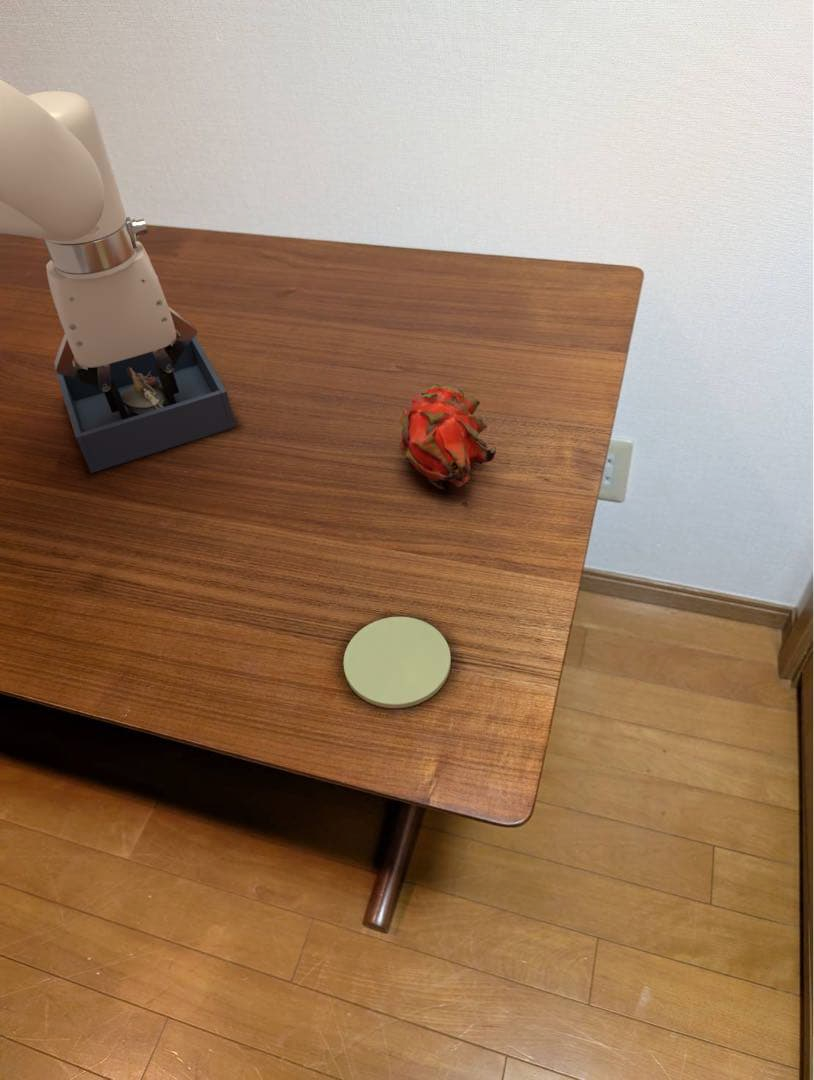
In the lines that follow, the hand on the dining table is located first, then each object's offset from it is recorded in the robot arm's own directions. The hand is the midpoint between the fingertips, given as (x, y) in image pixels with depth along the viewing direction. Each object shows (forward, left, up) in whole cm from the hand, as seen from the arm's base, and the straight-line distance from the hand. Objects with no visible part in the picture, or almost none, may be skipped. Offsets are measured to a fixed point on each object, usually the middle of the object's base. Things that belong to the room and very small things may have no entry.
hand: (146, 405), depth 89 cm
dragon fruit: (+24, -23, -2) cm, 33 cm away
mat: (+10, -42, -1) cm, 43 cm away
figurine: (0, 0, -1) cm, 1 cm away
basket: (0, 0, -1) cm, 1 cm away
